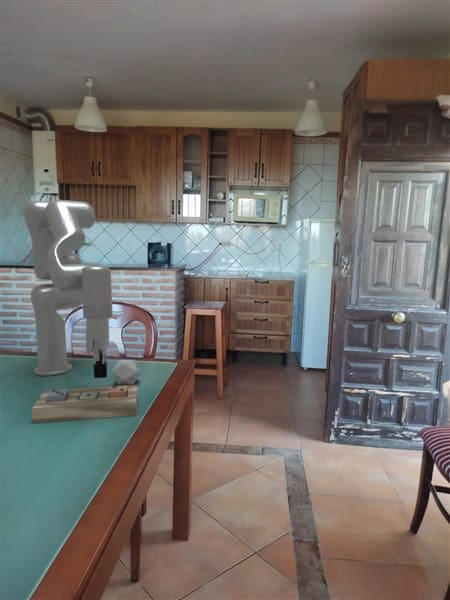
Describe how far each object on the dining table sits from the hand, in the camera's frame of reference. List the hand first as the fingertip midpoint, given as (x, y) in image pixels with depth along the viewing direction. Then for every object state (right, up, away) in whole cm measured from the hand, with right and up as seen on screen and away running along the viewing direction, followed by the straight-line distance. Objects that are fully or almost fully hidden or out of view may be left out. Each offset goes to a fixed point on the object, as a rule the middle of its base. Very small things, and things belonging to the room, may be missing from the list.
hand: (100, 376), depth 106 cm
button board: (-3, -9, +1) cm, 10 cm away
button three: (-11, -7, -1) cm, 13 cm away
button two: (+4, -7, +2) cm, 8 cm away
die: (+2, -7, +21) cm, 22 cm away
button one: (-3, -8, +1) cm, 9 cm away
